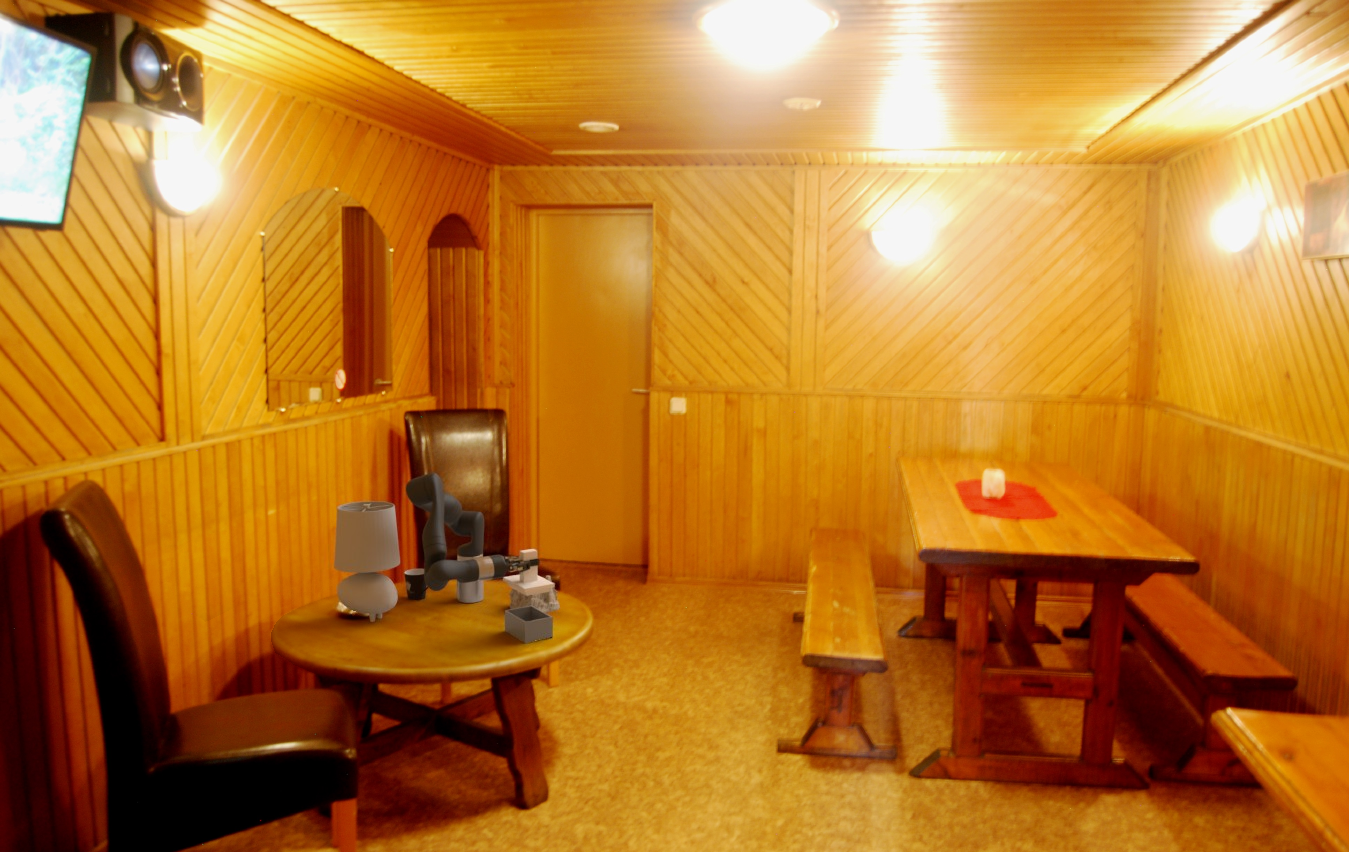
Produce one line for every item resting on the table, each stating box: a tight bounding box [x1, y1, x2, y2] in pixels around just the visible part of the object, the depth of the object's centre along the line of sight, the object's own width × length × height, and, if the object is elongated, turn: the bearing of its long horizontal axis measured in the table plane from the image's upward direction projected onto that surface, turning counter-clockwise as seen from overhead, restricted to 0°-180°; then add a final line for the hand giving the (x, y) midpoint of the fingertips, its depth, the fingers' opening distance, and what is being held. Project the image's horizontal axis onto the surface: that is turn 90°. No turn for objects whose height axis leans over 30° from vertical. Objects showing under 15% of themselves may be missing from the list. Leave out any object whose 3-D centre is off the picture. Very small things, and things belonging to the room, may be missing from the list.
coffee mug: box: [403, 568, 429, 601], centre depth 347 cm, size 12×9×10 cm
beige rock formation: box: [508, 575, 561, 614], centre depth 339 cm, size 16×16×15 cm
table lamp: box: [333, 500, 401, 623], centre depth 323 cm, size 23×22×40 cm
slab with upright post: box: [502, 548, 556, 596], centre depth 308 cm, size 11×16×13 cm
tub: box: [504, 606, 554, 644], centre depth 310 cm, size 10×15×7 cm, turn 36°
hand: (536, 560), depth 310 cm, fingers closed on slab with upright post, 3 cm apart
